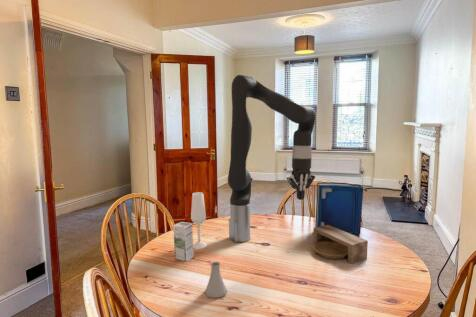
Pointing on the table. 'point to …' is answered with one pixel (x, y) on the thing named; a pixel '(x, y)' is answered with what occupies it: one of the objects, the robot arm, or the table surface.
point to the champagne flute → (198, 215)
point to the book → (339, 206)
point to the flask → (215, 282)
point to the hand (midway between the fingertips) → (300, 199)
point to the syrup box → (183, 241)
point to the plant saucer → (331, 249)
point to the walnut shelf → (342, 241)
